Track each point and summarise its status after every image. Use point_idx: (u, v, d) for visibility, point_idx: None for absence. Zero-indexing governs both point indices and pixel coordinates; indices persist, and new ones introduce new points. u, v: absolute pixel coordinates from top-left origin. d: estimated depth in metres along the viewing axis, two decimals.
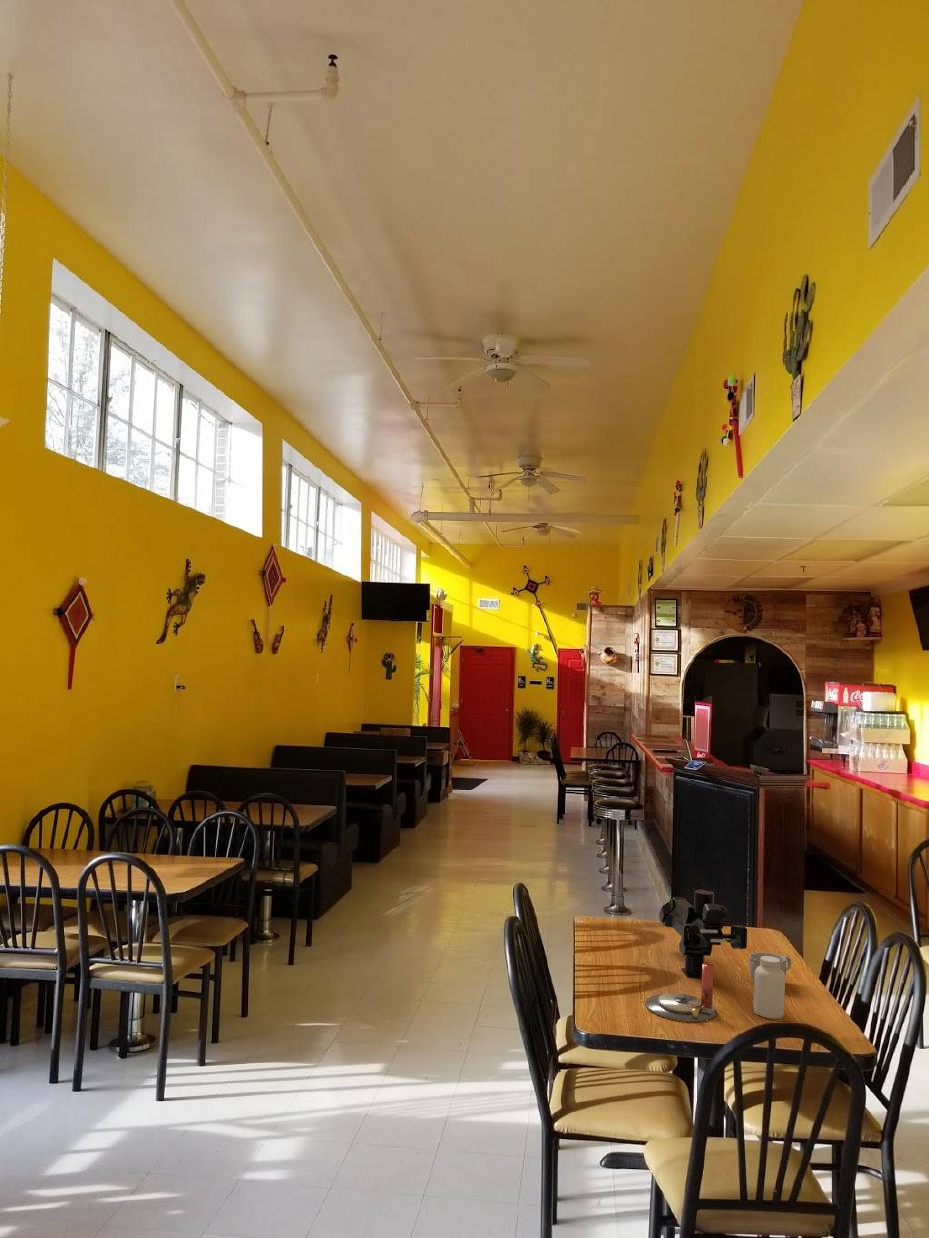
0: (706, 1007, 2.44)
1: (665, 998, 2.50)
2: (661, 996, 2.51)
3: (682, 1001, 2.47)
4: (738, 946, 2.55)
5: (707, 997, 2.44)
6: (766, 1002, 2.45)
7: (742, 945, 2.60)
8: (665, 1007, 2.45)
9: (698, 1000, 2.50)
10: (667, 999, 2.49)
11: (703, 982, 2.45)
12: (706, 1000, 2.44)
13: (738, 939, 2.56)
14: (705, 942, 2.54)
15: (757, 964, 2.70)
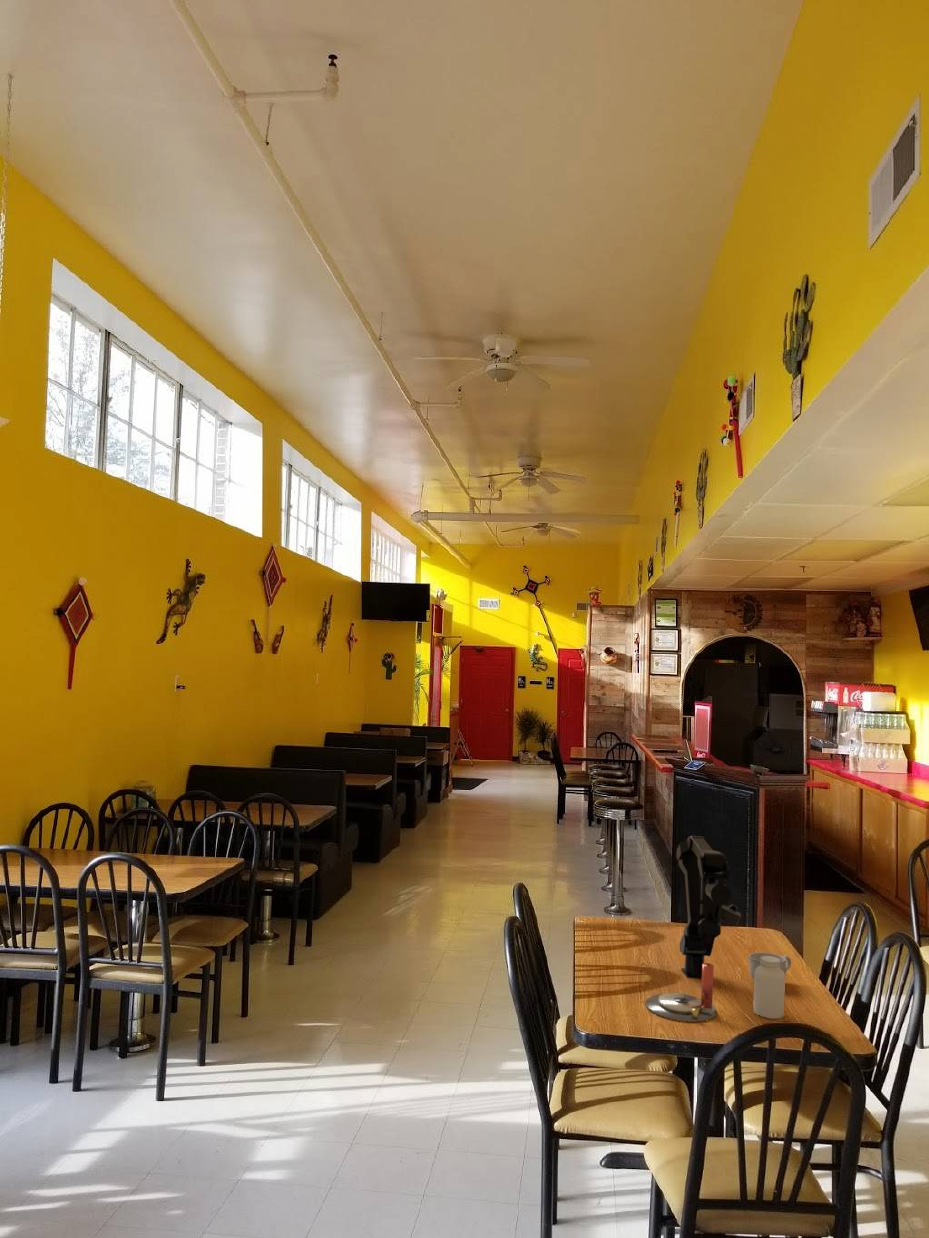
0: (706, 1007, 2.44)
1: (665, 998, 2.50)
2: (661, 996, 2.51)
3: (682, 1001, 2.47)
4: None
5: (707, 997, 2.44)
6: (766, 1002, 2.45)
7: None
8: (665, 1007, 2.45)
9: (698, 1000, 2.50)
10: (667, 999, 2.49)
11: (703, 982, 2.45)
12: (706, 1000, 2.44)
13: None
14: (709, 951, 2.58)
15: (757, 964, 2.70)
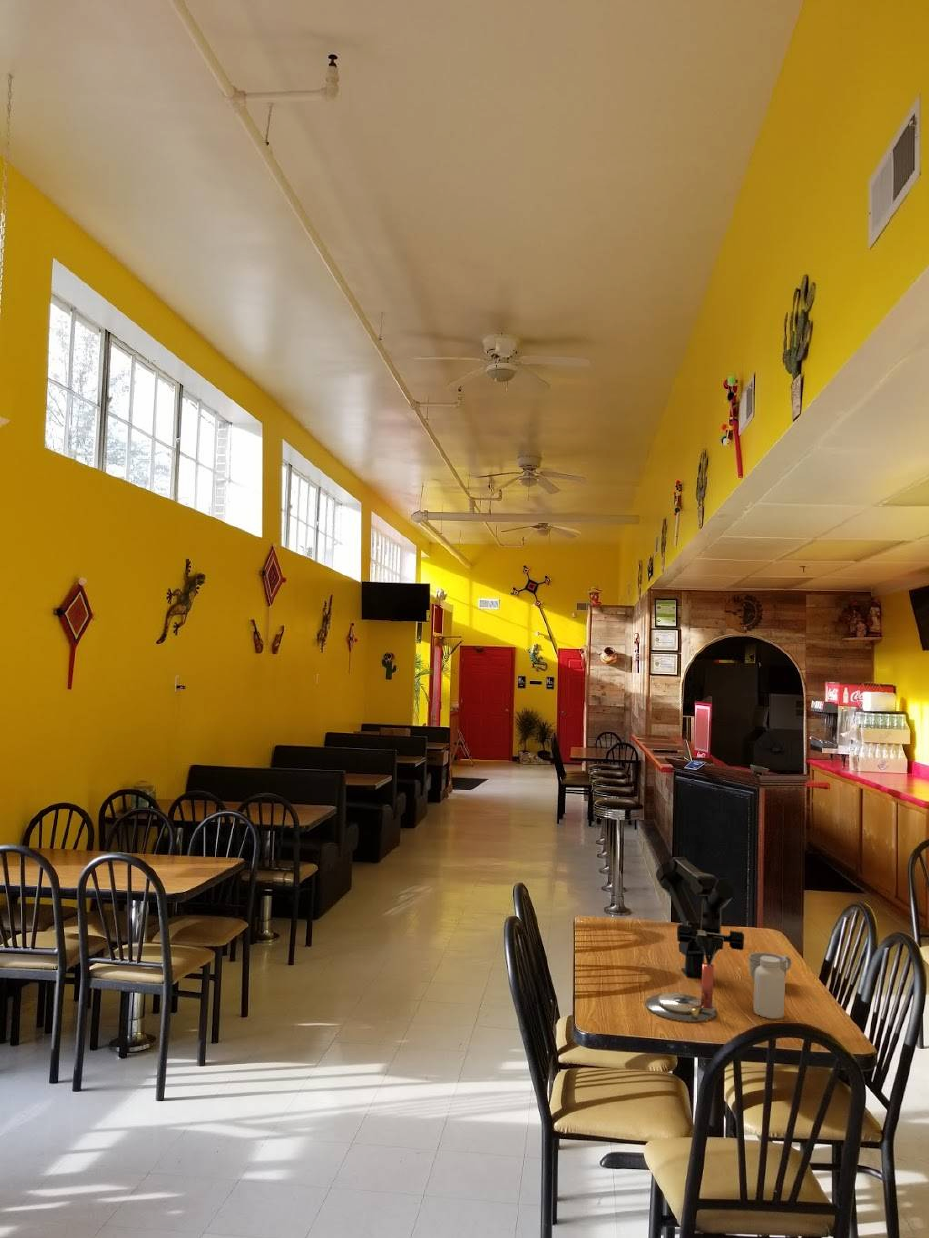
0: (706, 1007, 2.44)
1: (665, 998, 2.50)
2: (661, 996, 2.51)
3: (682, 1001, 2.47)
4: None
5: (707, 997, 2.44)
6: (766, 1002, 2.45)
7: (698, 938, 2.61)
8: (665, 1007, 2.45)
9: (698, 1000, 2.50)
10: (667, 999, 2.49)
11: (703, 982, 2.45)
12: (706, 1000, 2.44)
13: None
14: (711, 961, 2.57)
15: (757, 964, 2.70)
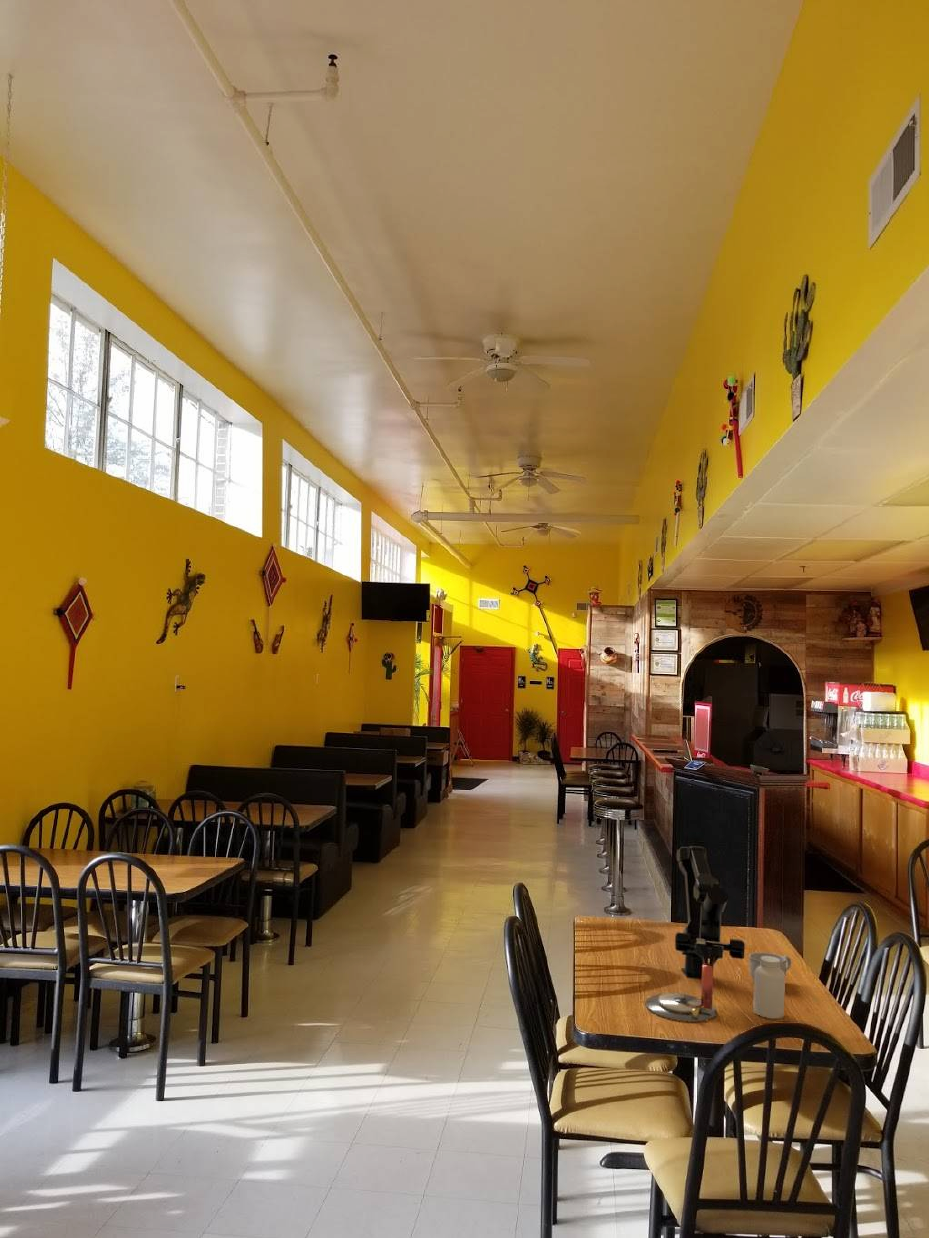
0: (706, 1007, 2.44)
1: (665, 998, 2.50)
2: (661, 996, 2.51)
3: (682, 1001, 2.47)
4: None
5: (707, 997, 2.44)
6: (766, 1002, 2.45)
7: (697, 946, 2.52)
8: (665, 1007, 2.45)
9: (698, 1000, 2.49)
10: (667, 999, 2.49)
11: (703, 982, 2.45)
12: (706, 1000, 2.44)
13: None
14: None
15: (757, 964, 2.70)
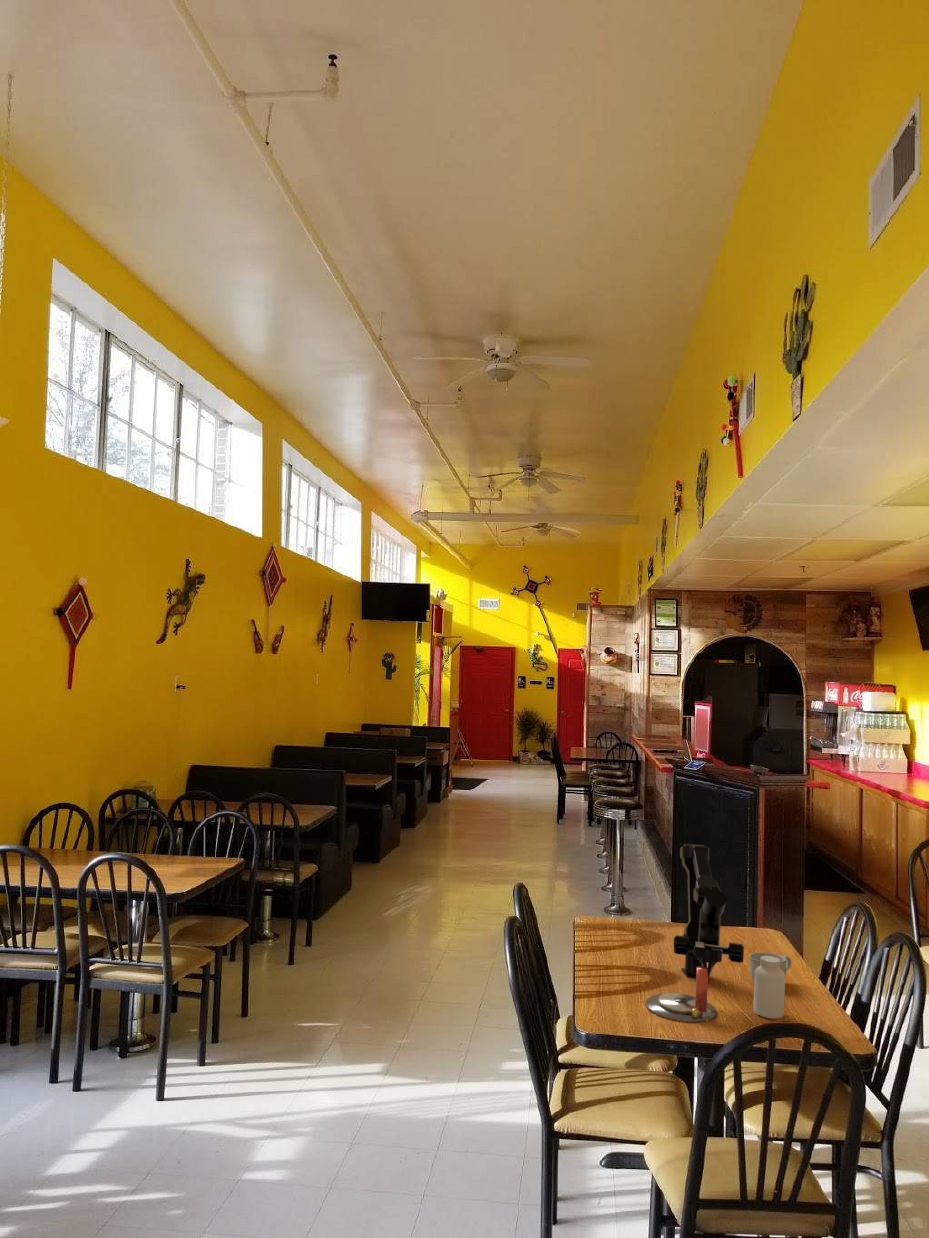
0: None
1: (668, 996, 2.52)
2: (666, 994, 2.53)
3: (680, 1001, 2.48)
4: None
5: (699, 1000, 2.42)
6: (766, 1002, 2.45)
7: (695, 950, 2.49)
8: (659, 1003, 2.48)
9: None
10: (667, 997, 2.51)
11: (696, 984, 2.43)
12: (697, 1002, 2.42)
13: None
14: (709, 975, 2.45)
15: (757, 964, 2.70)
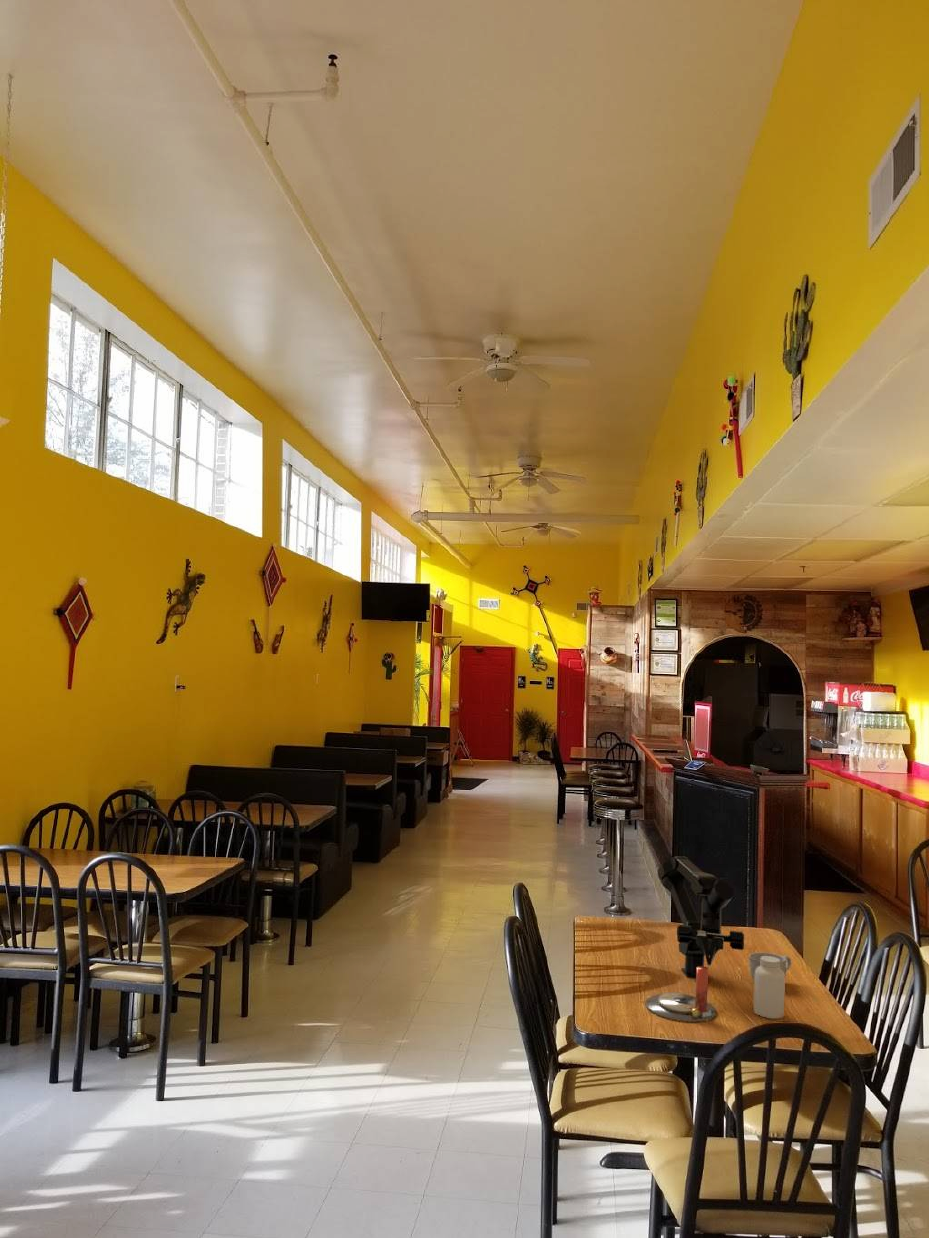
0: None
1: (668, 996, 2.52)
2: (666, 994, 2.53)
3: (680, 1001, 2.48)
4: None
5: (699, 1000, 2.42)
6: (766, 1002, 2.45)
7: (698, 938, 2.61)
8: (659, 1003, 2.48)
9: None
10: (667, 997, 2.51)
11: (696, 984, 2.43)
12: (697, 1002, 2.42)
13: None
14: (711, 962, 2.57)
15: (757, 964, 2.70)
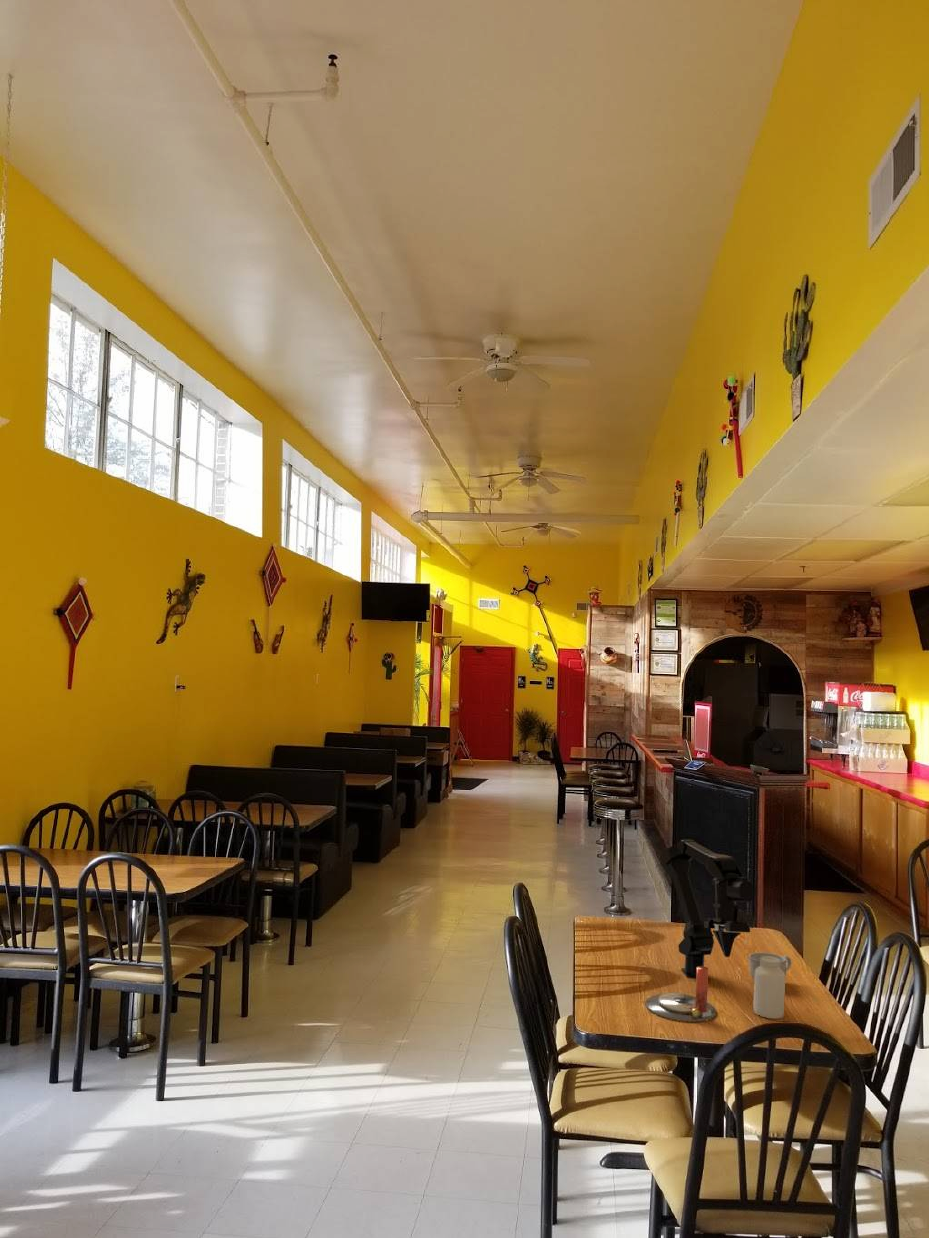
0: None
1: (668, 996, 2.52)
2: (666, 994, 2.53)
3: (680, 1001, 2.48)
4: None
5: (699, 1000, 2.42)
6: (766, 1002, 2.45)
7: None
8: (659, 1003, 2.48)
9: None
10: (667, 997, 2.51)
11: (696, 984, 2.43)
12: (697, 1002, 2.42)
13: None
14: (728, 953, 2.61)
15: (757, 964, 2.70)
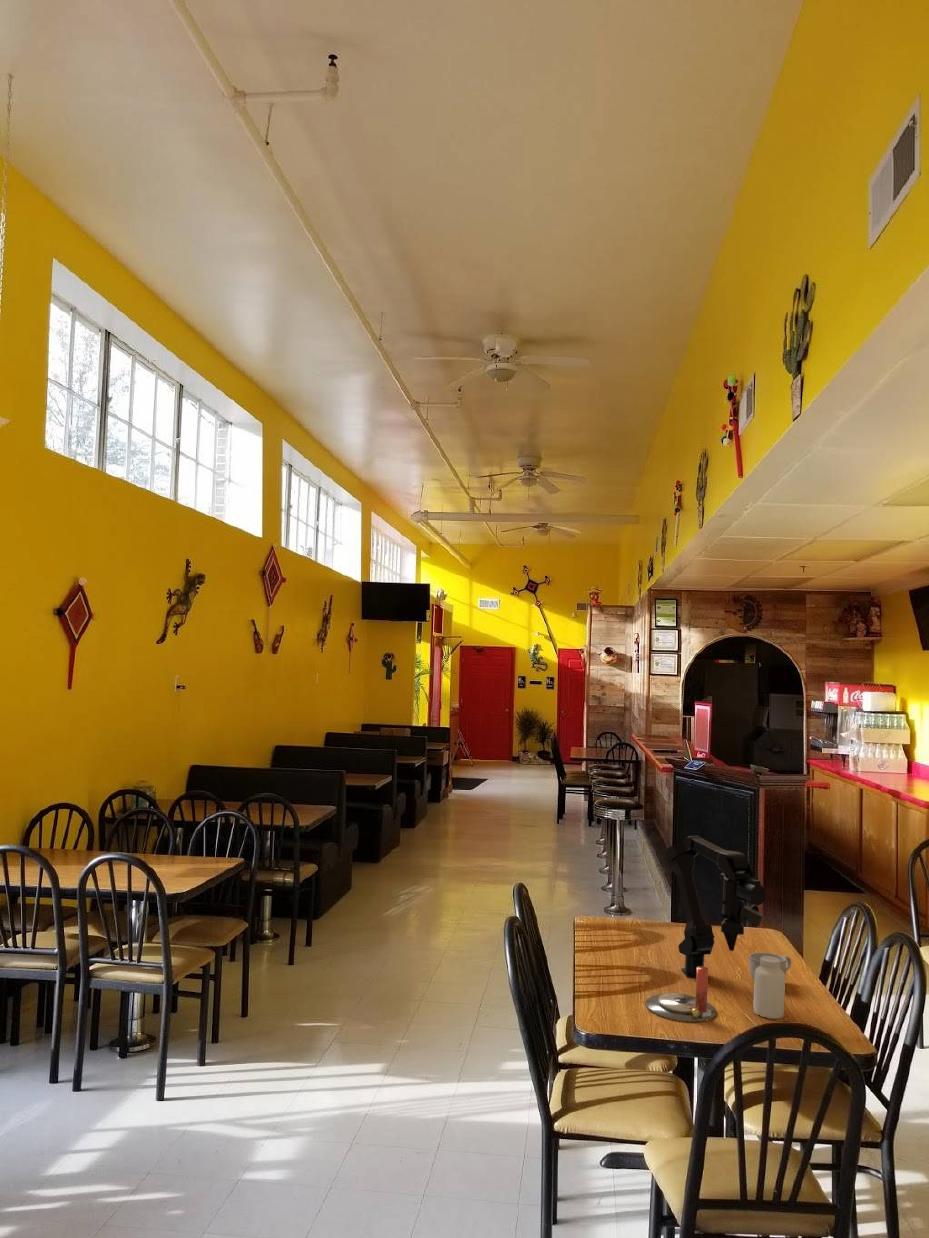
0: None
1: (668, 996, 2.52)
2: (666, 994, 2.53)
3: (680, 1001, 2.48)
4: None
5: (699, 1000, 2.42)
6: (766, 1002, 2.45)
7: None
8: (659, 1003, 2.48)
9: None
10: (667, 997, 2.51)
11: (696, 984, 2.43)
12: (697, 1002, 2.42)
13: None
14: (732, 947, 2.63)
15: (757, 964, 2.70)
